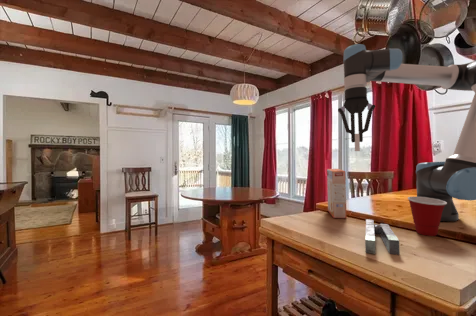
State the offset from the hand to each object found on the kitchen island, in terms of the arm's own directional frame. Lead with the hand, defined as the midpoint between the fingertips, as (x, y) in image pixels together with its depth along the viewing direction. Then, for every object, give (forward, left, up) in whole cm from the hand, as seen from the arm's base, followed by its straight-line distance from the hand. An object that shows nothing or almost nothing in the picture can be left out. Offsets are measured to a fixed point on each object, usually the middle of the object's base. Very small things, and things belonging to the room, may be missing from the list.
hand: (357, 150), depth 92 cm
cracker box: (+8, -18, -30) cm, 36 cm away
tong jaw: (-2, +14, -29) cm, 32 cm away
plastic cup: (-21, +1, -30) cm, 36 cm away
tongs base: (-6, +13, -29) cm, 33 cm away
